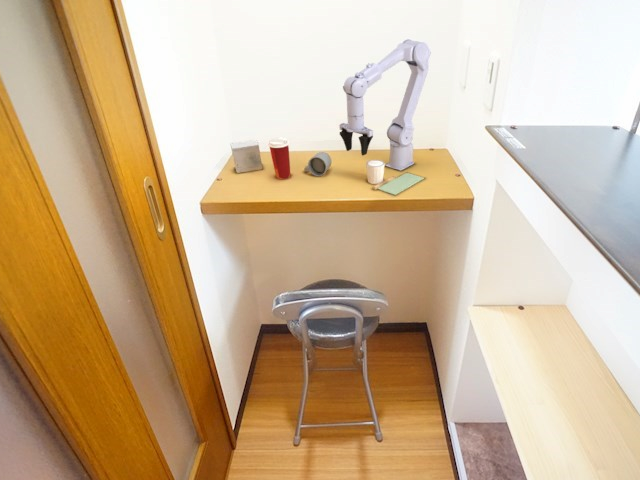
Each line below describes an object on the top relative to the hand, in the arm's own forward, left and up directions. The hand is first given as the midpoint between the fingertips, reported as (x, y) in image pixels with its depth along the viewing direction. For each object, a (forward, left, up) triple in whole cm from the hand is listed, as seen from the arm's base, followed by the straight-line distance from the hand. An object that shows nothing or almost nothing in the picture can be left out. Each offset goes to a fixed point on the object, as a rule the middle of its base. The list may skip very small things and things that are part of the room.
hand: (356, 152), depth 147 cm
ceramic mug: (+7, -15, -10) cm, 19 cm away
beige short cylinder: (-1, +8, -10) cm, 13 cm away
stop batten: (-1, +13, -9) cm, 16 cm away
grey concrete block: (+22, -40, -10) cm, 46 cm away
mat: (-5, +17, -9) cm, 20 cm away
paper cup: (+18, -23, -10) cm, 31 cm away
